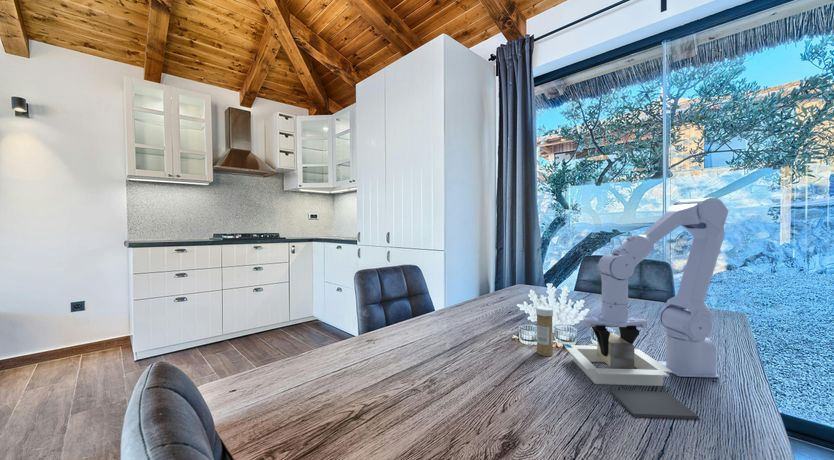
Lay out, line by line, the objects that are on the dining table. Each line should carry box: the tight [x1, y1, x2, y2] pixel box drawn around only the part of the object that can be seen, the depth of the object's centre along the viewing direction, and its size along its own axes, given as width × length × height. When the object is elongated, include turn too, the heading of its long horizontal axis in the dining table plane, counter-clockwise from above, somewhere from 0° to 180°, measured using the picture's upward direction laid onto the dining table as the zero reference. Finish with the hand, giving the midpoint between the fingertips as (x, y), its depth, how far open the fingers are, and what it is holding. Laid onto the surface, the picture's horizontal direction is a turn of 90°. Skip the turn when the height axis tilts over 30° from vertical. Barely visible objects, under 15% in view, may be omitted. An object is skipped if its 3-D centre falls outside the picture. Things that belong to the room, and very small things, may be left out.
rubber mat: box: [610, 389, 700, 420], centre depth 68 cm, size 12×9×1 cm
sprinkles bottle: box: [535, 305, 554, 357], centre depth 95 cm, size 5×5×13 cm
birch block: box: [596, 332, 635, 369], centre depth 83 cm, size 5×9×6 cm, turn 175°
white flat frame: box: [565, 344, 673, 387], centre depth 83 cm, size 19×17×4 cm
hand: (614, 355), depth 83 cm, fingers closed on birch block, 4 cm apart
